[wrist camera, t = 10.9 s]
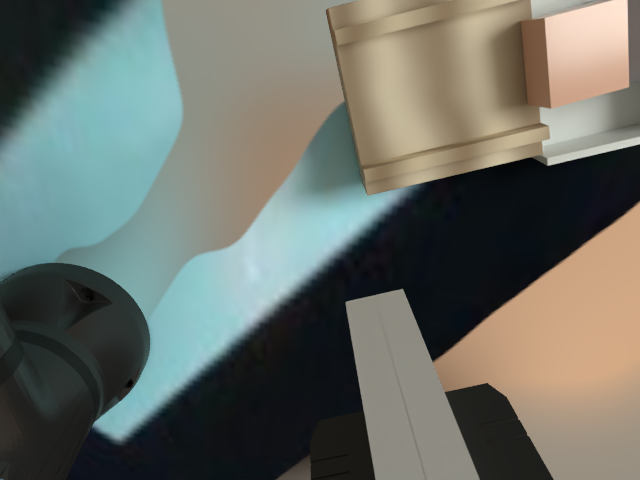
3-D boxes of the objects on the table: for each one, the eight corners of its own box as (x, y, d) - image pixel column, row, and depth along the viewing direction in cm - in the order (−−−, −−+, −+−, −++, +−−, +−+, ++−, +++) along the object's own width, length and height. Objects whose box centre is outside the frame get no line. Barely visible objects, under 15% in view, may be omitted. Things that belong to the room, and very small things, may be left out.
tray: (527, 154, 45) (547, 165, 42) (508, -51, 40) (530, -60, 36) (644, 127, 45) (675, 135, 41) (642, -86, 39) (678, -98, 35)
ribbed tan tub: (362, 182, 46) (369, 201, 41) (325, 10, 41) (329, 7, 36) (523, 144, 45) (551, 158, 40) (506, -36, 40) (536, -46, 35)
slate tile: (676, 78, 37) (689, 68, 38) (677, -16, 34) (691, -21, 36) (586, 86, 41) (602, 77, 43) (582, 3, 39) (599, -3, 41)
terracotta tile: (527, 105, 40) (551, 108, 37) (520, 20, 38) (544, 17, 35) (600, 84, 40) (629, 87, 37) (597, 0, 38) (627, -4, 35)
